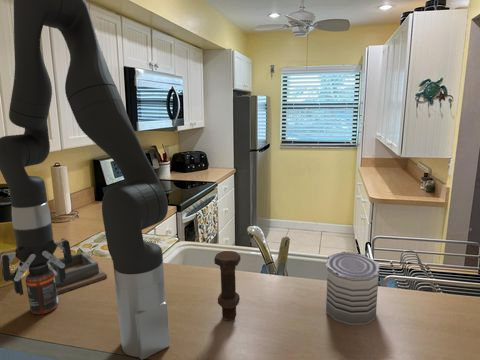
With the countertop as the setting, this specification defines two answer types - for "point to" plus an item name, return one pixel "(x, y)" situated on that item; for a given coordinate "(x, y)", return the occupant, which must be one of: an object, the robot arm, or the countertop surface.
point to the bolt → (228, 283)
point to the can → (352, 288)
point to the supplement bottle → (41, 289)
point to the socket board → (78, 272)
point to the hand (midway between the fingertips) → (41, 287)
